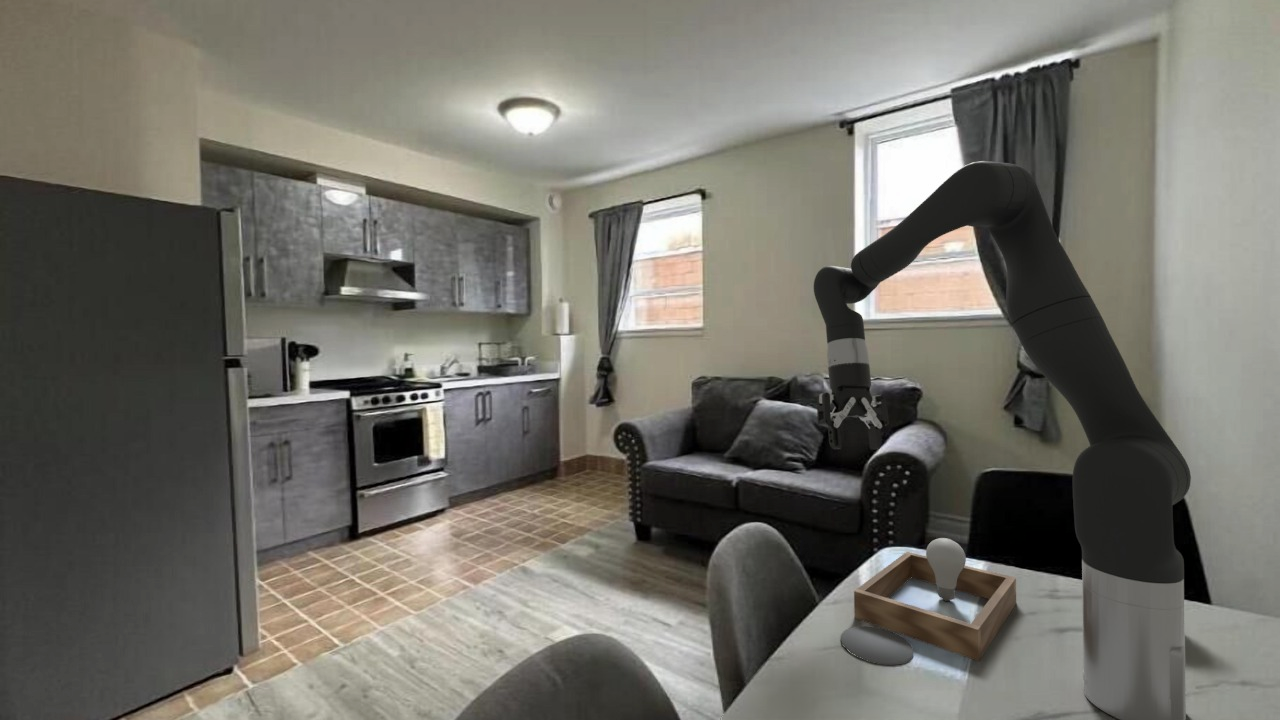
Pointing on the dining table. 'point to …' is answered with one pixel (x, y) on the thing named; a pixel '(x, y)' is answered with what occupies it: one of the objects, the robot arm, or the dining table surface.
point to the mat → (877, 645)
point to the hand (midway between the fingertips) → (856, 449)
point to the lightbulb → (946, 565)
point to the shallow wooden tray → (930, 625)
